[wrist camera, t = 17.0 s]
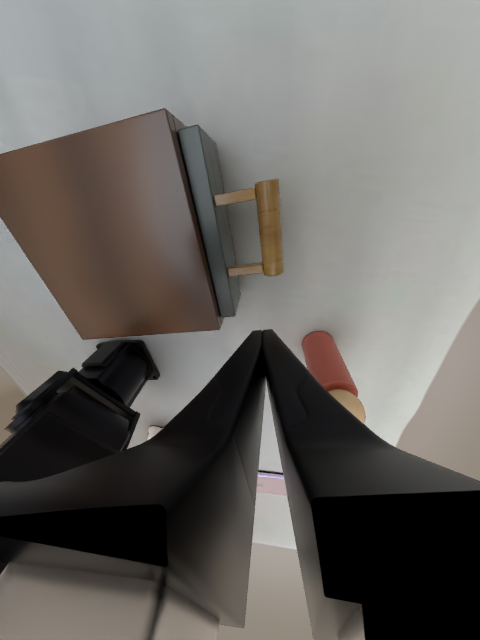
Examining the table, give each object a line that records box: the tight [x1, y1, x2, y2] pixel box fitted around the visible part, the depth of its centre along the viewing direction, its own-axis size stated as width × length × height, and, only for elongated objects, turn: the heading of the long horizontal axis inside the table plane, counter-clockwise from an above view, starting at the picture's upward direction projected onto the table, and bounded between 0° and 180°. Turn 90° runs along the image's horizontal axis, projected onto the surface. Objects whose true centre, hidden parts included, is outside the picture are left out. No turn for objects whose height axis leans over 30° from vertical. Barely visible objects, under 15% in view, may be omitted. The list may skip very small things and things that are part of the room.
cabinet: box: [0, 108, 224, 340], centre depth 16 cm, size 13×13×6 cm
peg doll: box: [302, 332, 366, 424], centre depth 19 cm, size 3×3×10 cm
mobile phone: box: [256, 472, 287, 496], centre depth 41 cm, size 8×1×15 cm
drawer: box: [178, 125, 283, 317], centre depth 16 cm, size 15×11×4 cm
